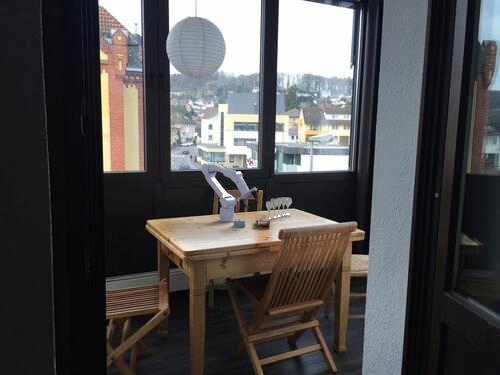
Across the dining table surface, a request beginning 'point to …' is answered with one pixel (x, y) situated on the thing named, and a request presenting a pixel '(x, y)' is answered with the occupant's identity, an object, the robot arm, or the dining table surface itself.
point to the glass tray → (239, 223)
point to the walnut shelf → (262, 219)
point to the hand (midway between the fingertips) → (252, 205)
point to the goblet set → (277, 202)
